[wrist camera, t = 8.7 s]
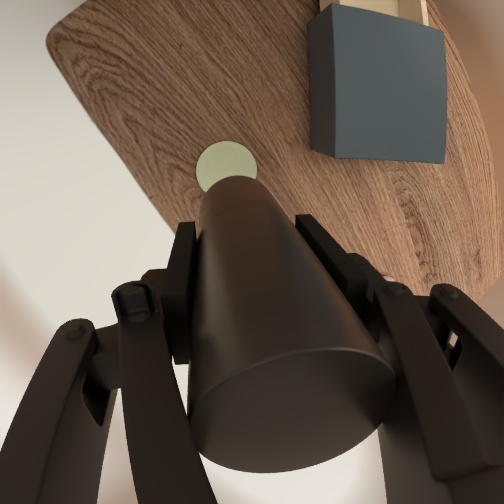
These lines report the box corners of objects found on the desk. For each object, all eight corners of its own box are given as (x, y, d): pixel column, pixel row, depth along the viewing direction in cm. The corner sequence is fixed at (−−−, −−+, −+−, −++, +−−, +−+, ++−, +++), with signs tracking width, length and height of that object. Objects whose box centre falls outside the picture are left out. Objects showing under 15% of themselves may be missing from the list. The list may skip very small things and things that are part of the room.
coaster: (194, 142, 34) (194, 143, 33) (255, 139, 34) (256, 139, 34) (198, 201, 36) (198, 202, 36) (256, 197, 37) (257, 198, 36)
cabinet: (306, 23, 29) (331, 2, 22) (405, 40, 30) (443, 31, 23) (309, 149, 35) (334, 158, 28) (406, 153, 37) (444, 164, 29)
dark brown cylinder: (197, 177, 19) (164, 362, 5) (273, 173, 20) (423, 327, 5) (203, 248, 21) (203, 480, 7) (273, 243, 22) (371, 453, 7)
